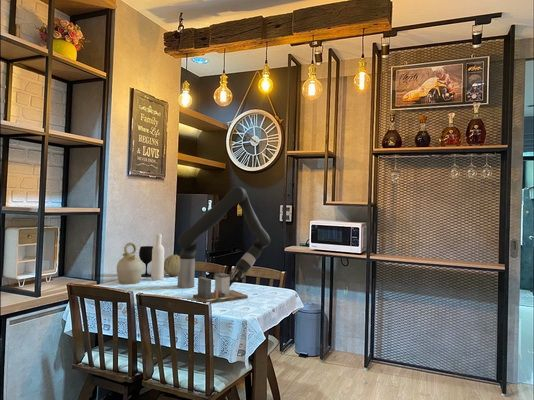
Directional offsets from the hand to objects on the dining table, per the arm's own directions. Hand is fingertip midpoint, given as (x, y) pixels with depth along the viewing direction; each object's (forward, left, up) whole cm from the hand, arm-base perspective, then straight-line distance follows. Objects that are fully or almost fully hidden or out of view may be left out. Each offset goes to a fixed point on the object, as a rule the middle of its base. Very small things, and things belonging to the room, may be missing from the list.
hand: (227, 286), depth 219 cm
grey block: (-1, -3, -4) cm, 5 cm away
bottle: (-61, +27, -6) cm, 67 cm away
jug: (-71, +11, -6) cm, 72 cm away
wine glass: (-75, +35, -6) cm, 83 cm away
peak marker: (-2, -11, -4) cm, 12 cm away
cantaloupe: (-58, +43, -6) cm, 72 cm away
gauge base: (-2, -3, -6) cm, 7 cm away
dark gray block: (-8, -11, -4) cm, 15 cm away
